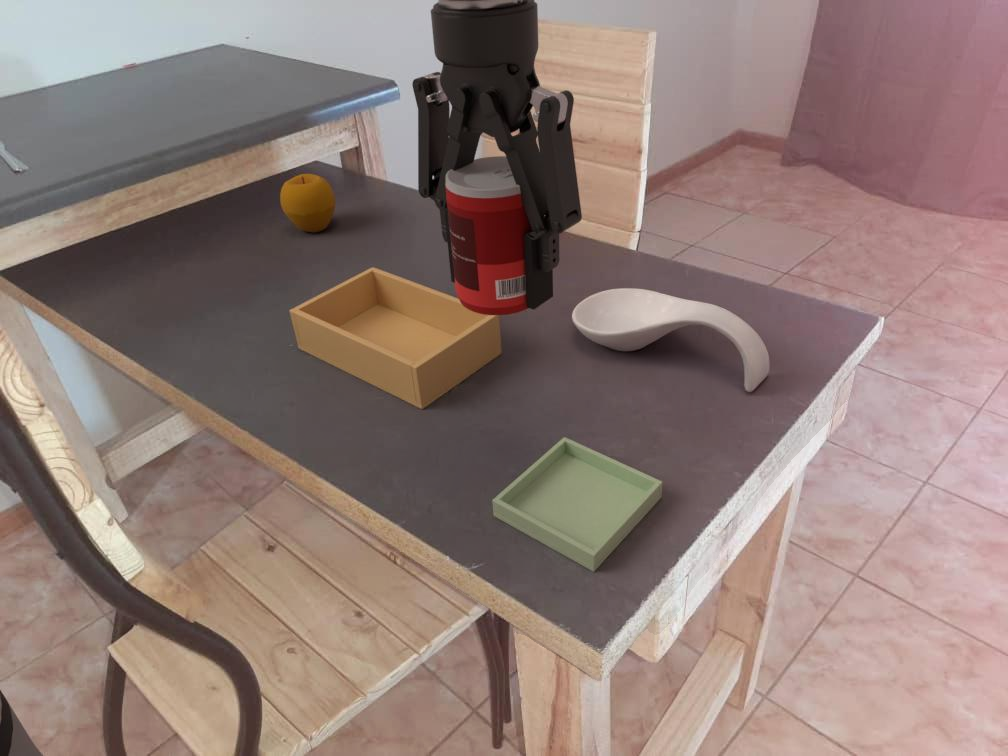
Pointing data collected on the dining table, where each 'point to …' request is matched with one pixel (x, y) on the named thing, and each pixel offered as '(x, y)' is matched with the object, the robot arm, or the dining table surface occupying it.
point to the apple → (308, 202)
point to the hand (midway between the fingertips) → (501, 288)
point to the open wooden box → (397, 335)
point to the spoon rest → (665, 324)
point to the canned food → (487, 236)
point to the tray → (578, 502)
